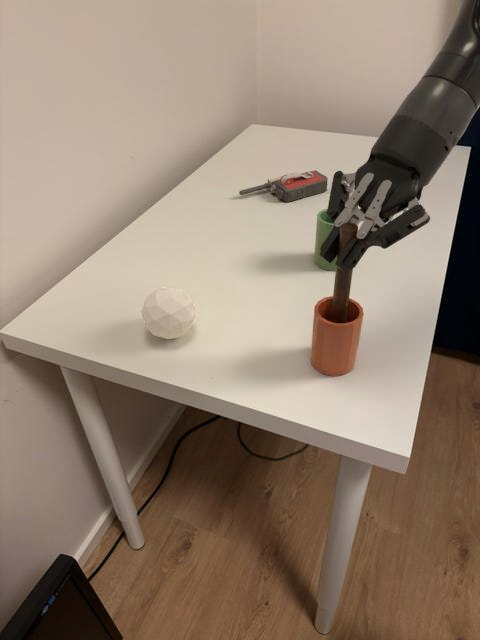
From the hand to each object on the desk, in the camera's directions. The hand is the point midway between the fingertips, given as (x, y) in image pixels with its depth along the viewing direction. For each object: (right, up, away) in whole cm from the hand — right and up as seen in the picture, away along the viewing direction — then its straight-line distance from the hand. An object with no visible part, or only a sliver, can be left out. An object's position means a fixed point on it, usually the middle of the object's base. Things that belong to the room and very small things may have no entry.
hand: (333, 263), depth 56 cm
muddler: (+2, -8, +8) cm, 12 cm away
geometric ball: (-21, -9, +18) cm, 29 cm away
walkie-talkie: (-1, +22, +53) cm, 58 cm away
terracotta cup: (+2, -12, +12) cm, 17 cm away
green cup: (+6, +4, +31) cm, 32 cm away
